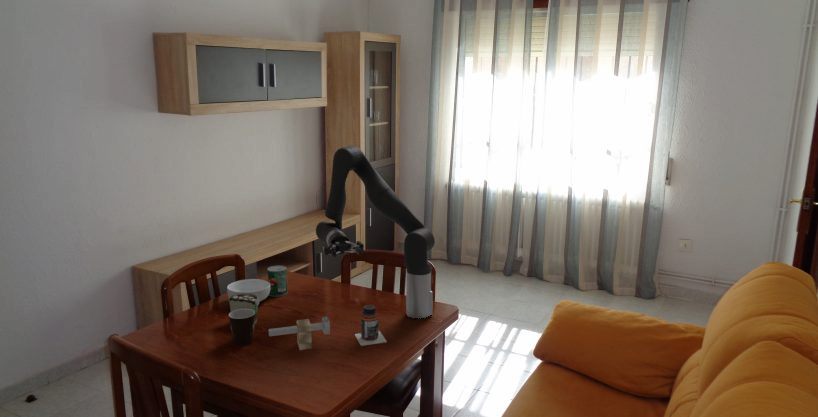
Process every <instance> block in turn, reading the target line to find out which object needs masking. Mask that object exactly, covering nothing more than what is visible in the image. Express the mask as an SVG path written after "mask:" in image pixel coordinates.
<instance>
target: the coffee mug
mask: <svg viewBox="0 0 818 417" xmlns="http://www.w3.org/2000/svg"><path fill="white" fill-rule="evenodd" d="M228 318H229V319H228V320H229V324H230V329H231V335H232V341H233V344H235V345H237V346H246V345H249V344H251V343H253V342H254V335H255V334H254V331H255V326H254V320H255V311H253V310H251V309H238V310H234V311H232V312H231V311H230V312H229V313H228Z"/></svg>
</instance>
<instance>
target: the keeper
mask: <svg viewBox="0 0 818 417" xmlns="http://www.w3.org/2000/svg"><path fill="white" fill-rule="evenodd" d="M311 324H312V323H311V322H310V318H306V319H305V318H304V319H297V320H296V326H298V333H296V337H297V338H296V339H297V341H296V342H297V346H298V350H299V351H304V350H312V349H313V348H312V347H313V344H312V331H311Z"/></svg>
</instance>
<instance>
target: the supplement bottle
mask: <svg viewBox="0 0 818 417" xmlns="http://www.w3.org/2000/svg"><path fill="white" fill-rule="evenodd" d="M378 331H379V313H378V312H377V311H376V305H374V304H366V305H364V306H363V311H362V312H361V314H360V333H361V337H362V338H363V339H365V340H375V339H377V338H378Z"/></svg>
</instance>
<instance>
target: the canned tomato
mask: <svg viewBox="0 0 818 417" xmlns="http://www.w3.org/2000/svg"><path fill="white" fill-rule="evenodd" d="M287 268H288V267H287V266H285V265H282V264H281V265H270V266H269V267H267V269H266V270H267V281H268V282H269V283H270V293H269V295H268V296H270V297H275V298H276V297H283V296H286V295H287V294H288V293H289V291H288V270H287Z"/></svg>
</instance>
